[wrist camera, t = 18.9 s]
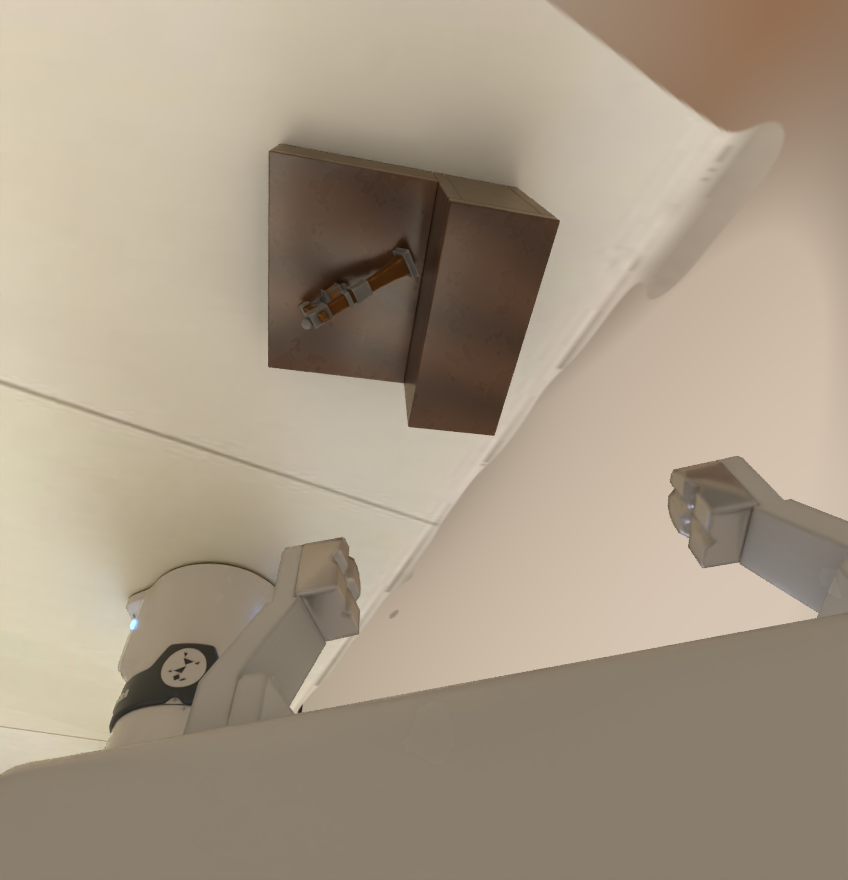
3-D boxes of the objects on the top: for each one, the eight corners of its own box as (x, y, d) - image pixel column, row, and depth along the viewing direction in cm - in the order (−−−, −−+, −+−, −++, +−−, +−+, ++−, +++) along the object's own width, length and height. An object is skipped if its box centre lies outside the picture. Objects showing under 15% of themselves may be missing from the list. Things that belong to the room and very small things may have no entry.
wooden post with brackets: (280, 303, 33) (297, 316, 30) (381, 244, 35) (409, 249, 31) (295, 327, 34) (313, 342, 31) (392, 268, 36) (420, 276, 32)
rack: (472, 368, 43) (494, 436, 35) (276, 344, 40) (251, 411, 32) (518, 187, 35) (560, 220, 27) (279, 143, 33) (246, 164, 24)
